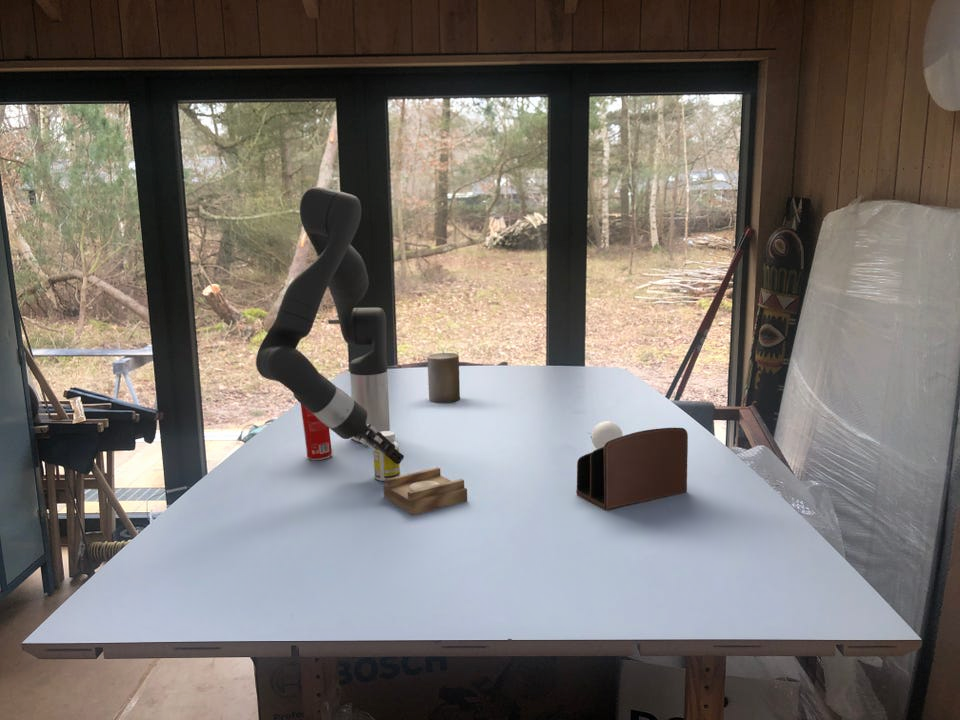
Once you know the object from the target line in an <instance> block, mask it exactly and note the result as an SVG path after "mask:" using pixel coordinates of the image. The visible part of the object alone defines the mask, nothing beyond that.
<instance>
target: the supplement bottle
mask: <svg viewBox="0 0 960 720" xmlns="http://www.w3.org/2000/svg"><path fill="white" fill-rule="evenodd" d="M380 433H382V435H383V436H385V437H386V439H388V440H389V441H390V442H391V443H392V444H394V445H395V449H396V450H397V451H398V452H400V449H399V447H400V446H399V444H398V442H396V441H395V440H396V434H395V432H394V431H391V430H390V431H382V432H380ZM374 446H375V445H374ZM386 447H387V446H386ZM386 447H385V448H386ZM372 450H373V471H374V479H376V480H377V481H381V482H386V479H389V478H393V477H397V476H401V474H400V473H401V468H400V464H396V463H395V462H394V461H392V460H391V459H390V458H389V457H387V456H386V455H383V453H382V452H380V451H379V450H374V449H372Z"/></svg>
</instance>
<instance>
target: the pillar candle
mask: <svg viewBox="0 0 960 720" xmlns="http://www.w3.org/2000/svg"><path fill="white" fill-rule="evenodd" d="M426 358H427V377H428V378H427V379H428V381H427V382H428V400H429V401H430V402H433V403H439V404H441V403H443V404H444V403H454V402H458V401H460V400H461V396H460V395H461V394H460V393H461V391H460V390H461V389H460V360H459V359H460V356H459V354H457V353H454V352H445V351H442V352H437V353H433V354H428V355H427V356H426Z"/></svg>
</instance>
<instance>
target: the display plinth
mask: <svg viewBox="0 0 960 720" xmlns="http://www.w3.org/2000/svg"><path fill="white" fill-rule="evenodd" d="M383 497H384V498H385V499H387V500H388V501H390V502H391V503H393V504H395V505H397V506H398V507H399V508H401V509H403V510H404V511H406V512H407V513H409V514H410V515H412V516H416V515H421V514H424V513H427V512H431V511H436V510H439V509H443V508H446V507H451V506H454V505H458V504H461V503H465V502H468V488H466V487H465V480H464V479H463V478H459V479H456V480H455V479H454V480H450V479H449V478H447V477H444V476H442V475H441V468H440V467H438V466H437V467H433V468H429V469H424V470H420V471H415V472H411V473H407V474H403V475H400V476H397V477H393V478H389V479H386V481H385V484H384V485H383Z"/></svg>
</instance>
